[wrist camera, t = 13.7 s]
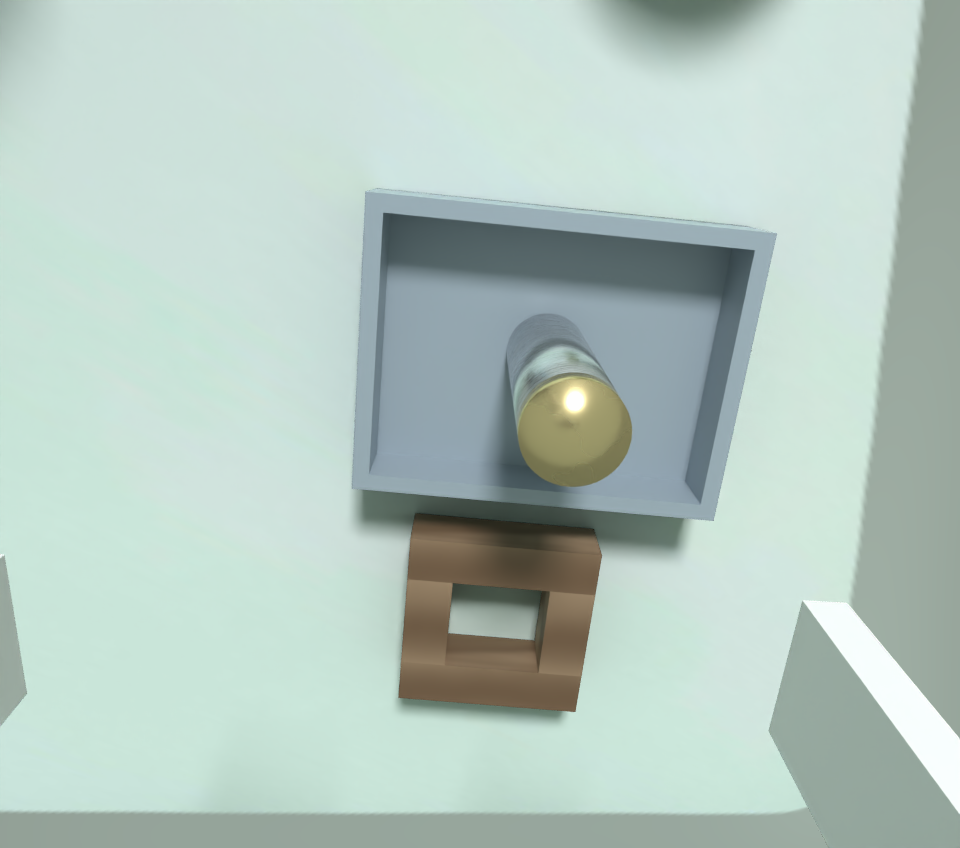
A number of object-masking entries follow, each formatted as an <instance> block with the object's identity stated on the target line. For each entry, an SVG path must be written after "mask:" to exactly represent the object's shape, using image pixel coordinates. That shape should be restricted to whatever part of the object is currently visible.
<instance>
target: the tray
mask: <svg viewBox="0 0 960 848" xmlns="http://www.w3.org/2000/svg"><path fill="white" fill-rule="evenodd" d="M776 236H777V233H773V232H769V231H765V230H761V229H756V228H752V227H748V226H740V225H731V224H721V223H711V222H701V221H691V220H682V219H672V218H662V217H652V216H643V215H633V214H623V213H613V212H603V211H594V210H584V209H574V208H564V207H555V206H545V205H535V204H525V203H515V202H506V201H496V200H486V199H476V198H466V197H457V196H447V195H437V194H427V193H418V192H408V191H398V190H388V189H378V188H377V189H373V190H369V191H366V192H365V213H364V235H363V257H362V278H361V300H360V322H359V343H358V365H357V387H356V408H355V430H354V452H353V473H352V489H362V490H374V491H385V492H396V493H407V494H418V495H430V496H441V497H452V498H463V499H474V500H485V501H497V502H508V503H519V504H530V505H541V506H553V507H564V508H575V509H586V510H597V511H609V512H620V513H631V514H642V515H653V516H664V517H676V518H687V519H698V520H709V521H714V516H715V512H716V507H717V503H718V498H719V493H720V489H721V484H722V480H723V475H724V471H725V466H726V462H727V457H728V453H729V448H730V444H731V439H732V435H733V430H734V426H735V421H736V417H737V412H738V408H739V403H740V398H741V394H742V389H743V385H744V380H745V376H746V371H747V367H748V362H749V358H750V353H751V349H752V344H753V340H754V335H755V331H756V326H757V322H758V317H759V312H760V308H761V303H762V299H763V294H764V290H765V285H766V281H767V276H768V272H769V267H770V263H771V258H772V254H773V249H774V245H775V240H776ZM544 313H552V314H557V315H560V316H563V317H565V318H567V319H569V320H570V321H572V322H573V323H574V324H575V325H576V326H577V327H578V328H579V330H580V331H581V333H582V335H583V336H584V338H585V340H586V341H587V343H588V345H589V346H590V348H591V350H592V351H593V353H594V355H595V356H596V358H597V360H598V361H599V363H600V365H601V366H602V368H603V370H604V371H605V373H606V375H607V376H608V378H609V380H610V381H611V383H612V385H613V386H614V388H615V390H616V391H617V393H618V395H619V396H620V398H621V400H622V401H623V403H624V405H625V406H626V408H627V410H628V412H629V415H630V418H631V423H632V439H631V444H630V447H629V450H628V453H627V455H626V456H625V458H624V460H623V461H622V463H621V464H620V465H619V466H618V467H617V469H616V470H615V471H613V472H612V473H611V474H610V475H609V476H607V477H605V478H604V479H602V480H600V481H598V482H596V483H593V484H590V485H586V486H580V487H566V486H560V485H556V484H553V483H550V482H548V481H546V480H544V479H543V478H541V477H540V476H538V475H537V474H536V473H535V472H534V471H533V470H532V469H531V468H530V467H529V466H528V464H527V463H526V461H525V460H524V458H523V456H522V453H521V451H520V446H519V441H518V434H517V427H516V420H515V413H514V406H513V399H512V392H511V385H510V378H509V371H508V364H507V355H506V353H507V344H508V341H509V338H510V336H511V334H512V333H513V331H514V330H515V328H516V327H517V326H518V325H519V324H520V323H521V322H523V321H524V320H526V319H528V318H529V317H532V316H534V315H538V314H544Z"/></svg>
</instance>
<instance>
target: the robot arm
mask: <svg viewBox="0 0 960 848" xmlns="http://www.w3.org/2000/svg"><path fill="white" fill-rule="evenodd" d="M26 694H27V691H26V685H25V679H24V673H23V666H22V660H21V654H20V648H19V642H18V636H17V629H16V623H15V617H14V611H13V605H12V599H11V593H10V586H9V580H8V574H7V568H6V562H5V556H4V555H3V554H0V726H1V725H2V724H3V723H4V721H5V720H6V719H7V718H8V716H9V715H10V714H11V713H12V711H13V710H14V709H15V708H16V707H17V705H18V704H19V703H20V702H21V700H22V699H23V698H24V697H25V695H26ZM769 733H770V735H771V737H772V739H773V740H774V742H775V744H776V746H777V748H778V750H779V752H780V754H781V756H782V758H783V760H784V762H785V764H786V766H787V768H788V770H789V772H790V774H791V776H792V778H793V779H794V781H795V783H796V785H797V787H798V789H799V791H800V793H801V795H802V797H803V799H804V801H805V803H806V805H807V807H808V809H809V811H810V812H811V815H812V817H813V818H814V820H815V822H816V824H817V826H818V828H819V830H820V832H821V834H822V836H823V838H824V840H825V842H826V844H827V846H828V848H960V739H959V737H958V736H957V735H956V734H955V733H954V731H953V730H952V729H951V728H950V726H949V725H948V724H947V723H946V722H945V720H944V719H943V718H942V717H941V716H940V714H939V713H938V712H937V711H936V710H935V709H934V707H933V706H932V705H931V704H930V702H929V701H928V700H927V699H926V698H925V696H924V695H923V694H922V693H921V691H920V690H919V689H918V688H917V687H916V685H915V684H914V683H913V682H912V681H911V679H910V678H909V677H908V676H907V675H906V673H905V672H904V671H903V670H902V669H901V667H900V666H899V665H898V664H897V663H896V661H895V660H894V659H893V658H892V657H891V655H890V654H889V653H888V652H887V650H886V649H885V648H884V647H883V646H882V645H881V643H880V642H879V641H878V640H877V638H876V637H875V636H874V635H873V634H872V632H871V631H870V630H869V629H868V628H867V627H866V625H865V624H864V623H863V622H862V620H861V619H860V618H859V617H858V616H857V614H856V613H855V612H854V611H853V609H852V608H851V607H850V606H849V605H848V603H841V602H823V601H806V600H802V604H801V608H800V612H799V616H798V619H797V623H796V627H795V631H794V635H793V639H792V643H791V647H790V650H789V654H788V658H787V662H786V666H785V670H784V674H783V677H782V681H781V685H780V689H779V693H778V697H777V701H776V704H775V708H774V712H773V716H772V720H771V724H770V728H769Z"/></svg>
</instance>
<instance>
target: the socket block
mask: <svg viewBox="0 0 960 848" xmlns="http://www.w3.org/2000/svg"><path fill="white" fill-rule="evenodd" d="M601 558H602V554H601V551H600V548H599V544H598V541H597V538H596V535H595V532H594V529H587V528H576V527H565V526H553V525H542V524H531V523H519V522H508V521H497V520H485V519H474V518H463V517H452V516H440V515H429V514H418V513H415V517H414V523H413V528H412V533H411V539H410V552H409V565H408V578H407V592H406V605H405V618H404V631H403V644H402V658H401V671H400V684H399V697H398V698H409V699H421V700H433V701H446V702H458V703H471V704H483V705H495V706H508V707H520V708H533V709H545V710H557V711H570V712H575V711H576V705H577V699H578V693H579V687H580V681H581V676H582V670H583V664H584V658H585V652H586V646H587V640H588V634H589V629H590V623H591V617H592V611H593V605H594V599H595V593H596V587H597V582H598V576H599V570H600V564H601ZM453 583H457V584H468V585H480V586H492V587H503V588H515V589H527V590H538V591H542V593H541V600H540V607H539V614H538V621H537V628H536V634H535V641H533V640H521V639H509V638H497V637H485V636H473V635H461V634H450V633H448V626H449V616H450V606H451V596H452V586H453Z"/></svg>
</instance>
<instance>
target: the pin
mask: <svg viewBox="0 0 960 848" xmlns="http://www.w3.org/2000/svg"><path fill="white" fill-rule="evenodd" d="M506 355H507V364H508V371H509V378H510V385H511V392H512V399H513V406H514V413H515V420H516V427H517V434H518V441H519V446H520V451H521V453H522V456H523V458H524V460H525V461H526V463H527V464H528V466H529V467H530V468H531V469H532V470H533V471H534V472H535V473H536V474H537V475H538V476H540V477H541V478H543V479H544V480H546V481H548V482H550V483H553V484H556V485H560V486H566V487H580V486H586V485H590V484H593V483H596V482H598V481H600V480H602V479H604V478H605V477H607V476H609V475H610V474H611V473H612V472H613V471H615V470H616V469H617V467H618V466H619V465H620V464H621V463H622V461H623V460H624V458H625V456H626V455H627V453H628V450H629V447H630V444H631V439H632V423H631V418H630V415H629V412H628V410H627V408H626V406H625V405H624V403H623V401H622V400H621V398H620V396H619V395H618V393H617V391H616V390H615V388H614V386H613V385H612V383H611V381H610V380H609V378H608V376H607V375H606V373H605V371H604V370H603V368H602V366H601V365H600V363H599V361H598V360H597V358H596V356H595V355H594V353H593V351H592V350H591V348H590V346H589V345H588V343H587V341H586V340H585V338H584V336H583V335H582V333H581V331H580V330H579V328H578V327H577V326H576V325H575V324H574V323H573V322H572V321H570V320H569V319H567V318H565V317H563V316H560V315H557V314H552V313H544V314H538V315H534V316H532V317H529V318H528V319H526V320H524V321H523V322H521V323H520V324H519V325H518V326H517V327H516V328H515V330H514V331H513V333H512V334H511V336H510V338H509V341H508V344H507V353H506Z"/></svg>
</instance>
